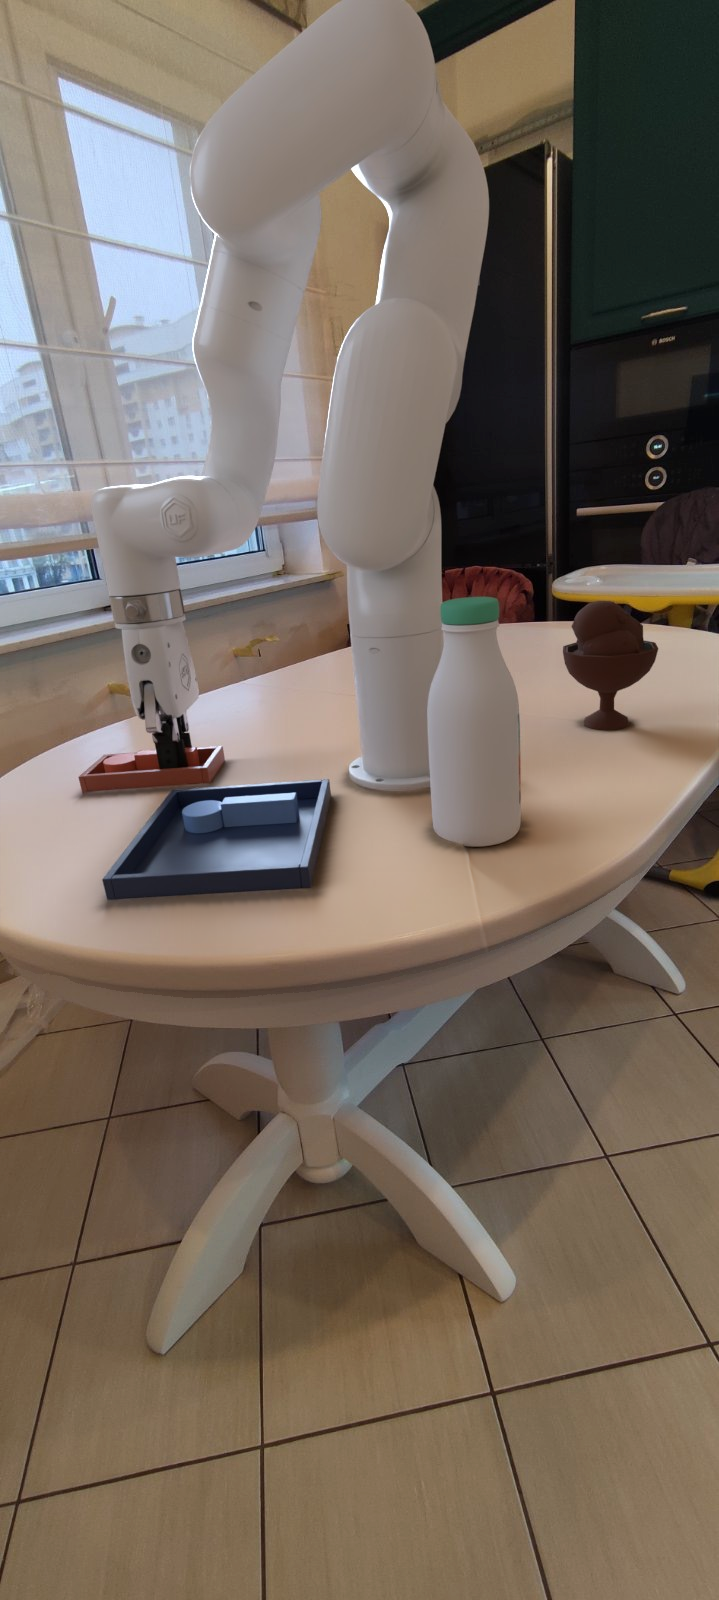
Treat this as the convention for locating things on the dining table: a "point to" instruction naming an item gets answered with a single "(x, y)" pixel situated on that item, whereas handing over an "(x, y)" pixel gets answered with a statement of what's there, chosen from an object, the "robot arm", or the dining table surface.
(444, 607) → the milk bottle
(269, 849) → the navy tray
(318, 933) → the dining table surface
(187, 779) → the terracotta tray
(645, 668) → the ice cream bowl
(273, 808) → the blue spoon
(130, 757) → the red spoon
